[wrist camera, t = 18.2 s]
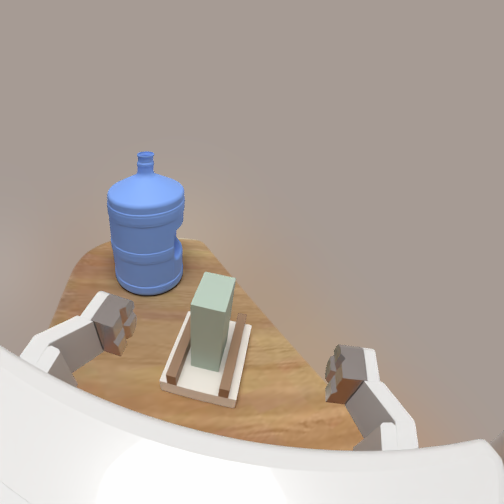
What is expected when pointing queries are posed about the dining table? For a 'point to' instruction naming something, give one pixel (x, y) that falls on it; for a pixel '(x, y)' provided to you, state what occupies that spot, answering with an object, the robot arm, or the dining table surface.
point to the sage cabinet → (211, 320)
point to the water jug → (146, 229)
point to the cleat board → (201, 380)
